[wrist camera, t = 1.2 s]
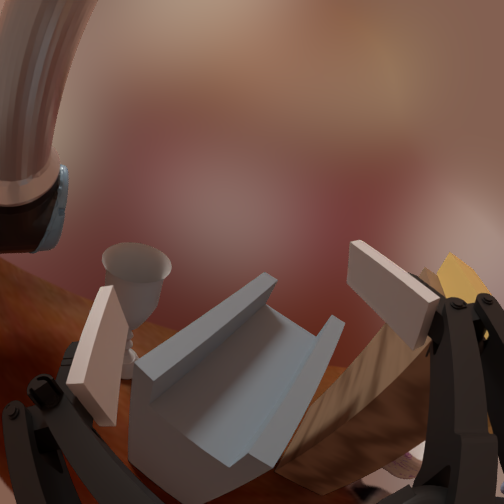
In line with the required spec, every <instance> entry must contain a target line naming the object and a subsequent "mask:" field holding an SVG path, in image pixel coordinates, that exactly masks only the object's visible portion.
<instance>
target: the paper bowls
mask: <svg viewBox="0 0 504 504" xmlns="http://www.w3.org/2000/svg"><path fill="white" fill-rule="evenodd" d="M424 447H425V441H424V442H422V443H421V444H419V445H418V446H416V447H415V448H413V449H412V450H410V451H409V452H407V453H406V454H404V455H402V456H401V457H399V458H397V459H396V460H394V461H392V462H391V463H389V464H387V465H385V466H384V467H382V468H383V469H385V470H387V471H388V472H390V473H391V474H392V475H394V476H396V477H398V478H403V479H412V478H415V477H416V476H417V474H418V472H419V470H420V468H421V465H422V460H423V454H424Z"/></svg>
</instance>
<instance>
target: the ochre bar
mask: <svg viewBox="0 0 504 504" xmlns="http://www.w3.org/2000/svg"><path fill="white" fill-rule="evenodd" d="M437 275H438V278H439V280H440V283H441V286H442V288H443V291H444V294H445V296H446V298H450V297H457V298H460V299H462V300H464V301H465V302H466V303H467V304H468V303H475V300H476V297H477V295H478V294H479V293H488V294H490V295H491V293H490V292H489V290H488V289H487V288H486V286H485V285H484V284H483V282H482V281H481V279H480V278H479V277H478V275H477V274H476V273H475V271H474V270H473V269H472V268H471V267H469V266H468V265H466V264H465V263H464V262H463V261H461V260H460V259H459V258H457V257H456V256H454V255H453V254H452V253H450V252H449V254H448V256H447V258H446V259H445V261H444V262H443V264H442V266H441V267H440V269H439V270H438V272H437ZM491 296H492V295H491ZM488 336H489V334H488V331H486V333H485V335H484V337H485V339H487V338H488ZM487 416H488V413H487ZM488 432H489V433H490V434H493V431H492V427H491V423H490V420H489V416H488Z"/></svg>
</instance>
